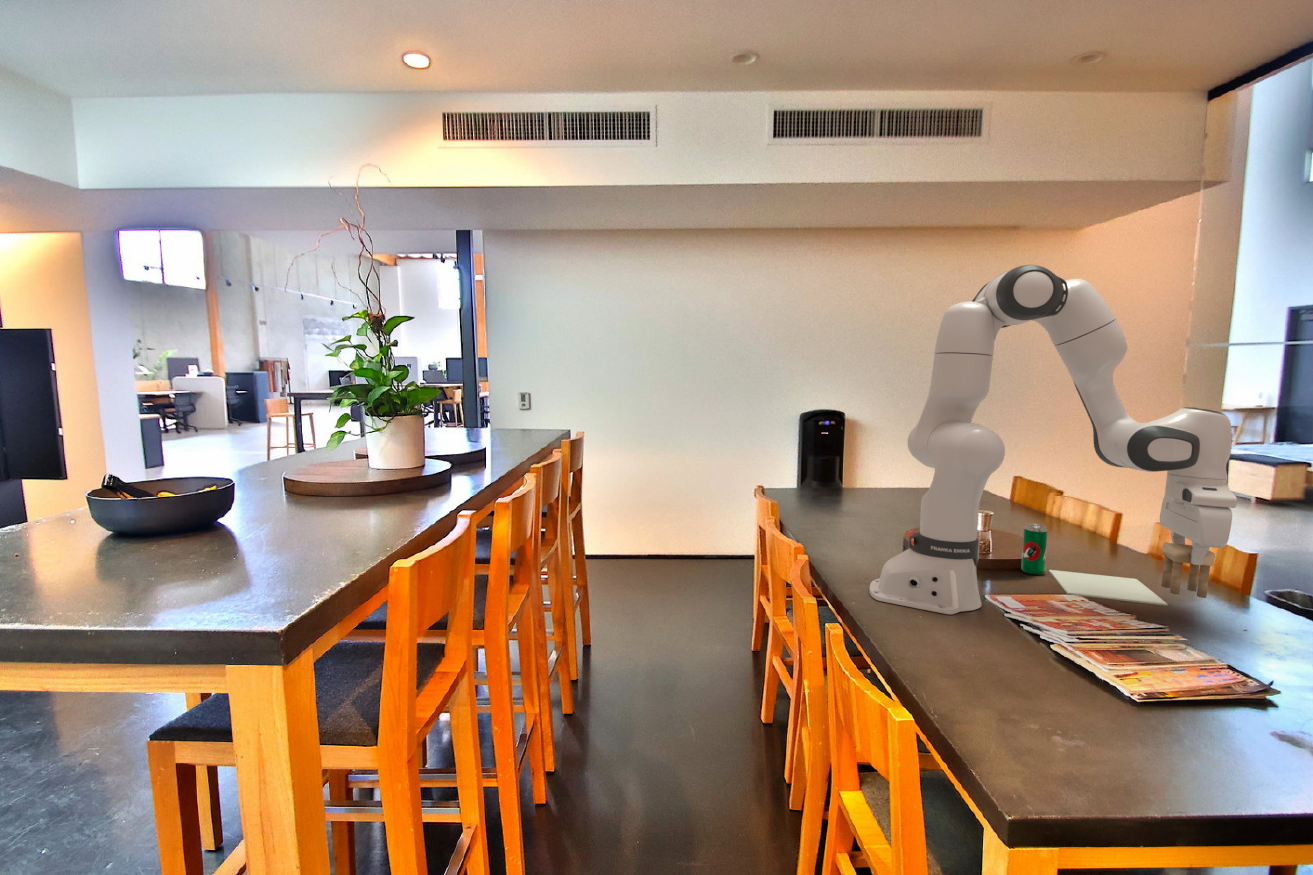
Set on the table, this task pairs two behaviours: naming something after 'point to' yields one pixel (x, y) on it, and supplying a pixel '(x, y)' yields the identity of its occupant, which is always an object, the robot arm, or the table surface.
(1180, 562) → the stool
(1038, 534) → the soda can
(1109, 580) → the mat
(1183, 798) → the table surface
